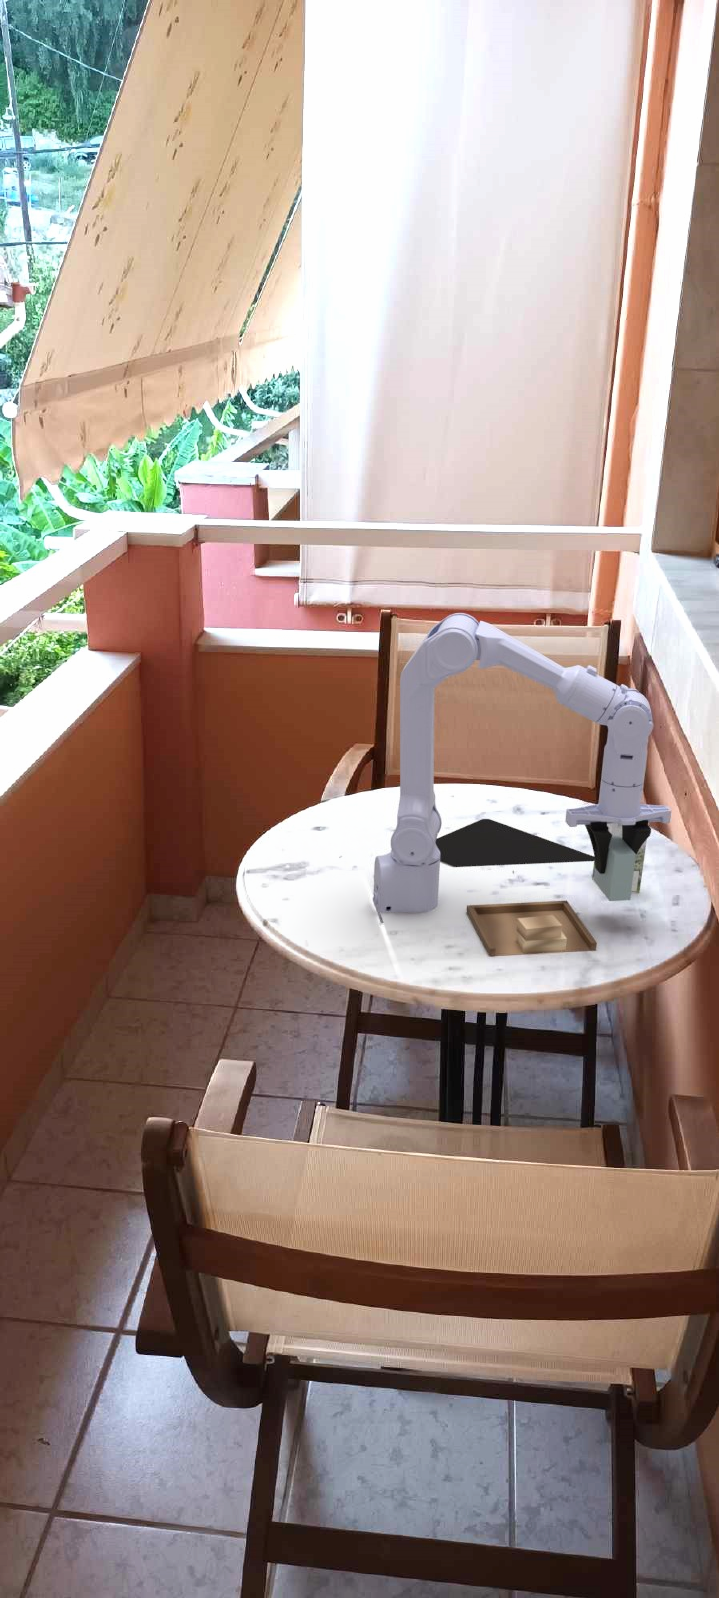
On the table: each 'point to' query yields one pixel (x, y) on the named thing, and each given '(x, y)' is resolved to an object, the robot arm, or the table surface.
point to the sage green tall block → (617, 871)
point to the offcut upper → (539, 927)
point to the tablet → (501, 847)
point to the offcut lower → (542, 944)
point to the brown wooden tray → (501, 919)
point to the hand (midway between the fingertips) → (612, 870)
